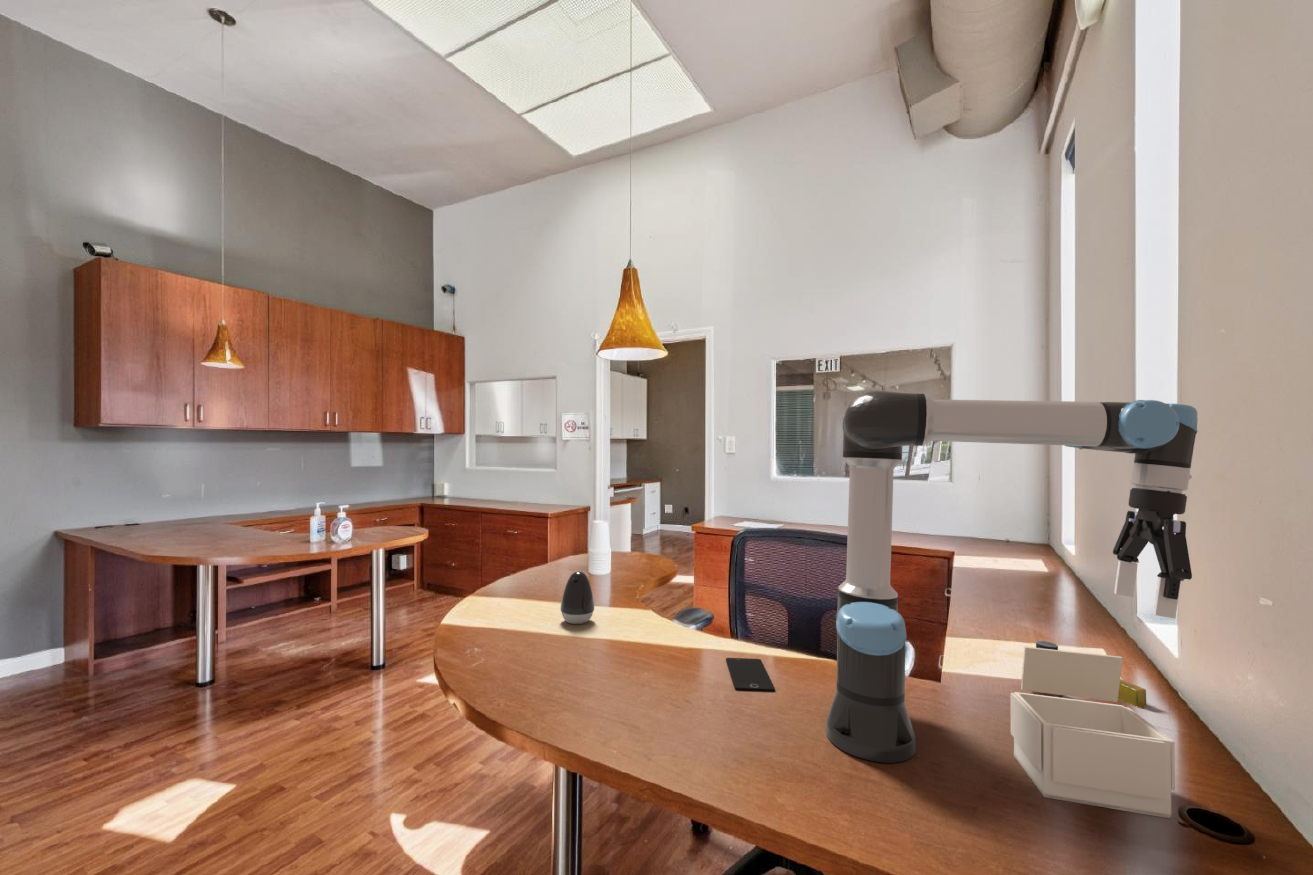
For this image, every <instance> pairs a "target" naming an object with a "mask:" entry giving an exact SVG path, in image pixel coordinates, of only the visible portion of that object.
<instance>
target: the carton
mask: <svg viewBox="0 0 1313 875" xmlns="http://www.w3.org/2000/svg"><path fill="white" fill-rule="evenodd" d="M1010 735H1011V736H1012V737H1013V757H1014V758H1015V759H1016V760H1017V762H1018V764H1020V766H1021V768H1022V769H1023V770H1024V771H1025V773H1026V774H1027V775H1028V777H1029V779H1030V780H1031V779H1032V780H1031V781H1032V783H1034V786H1035V787H1036V786H1037V787H1036V788H1037V789H1038V791H1039V792H1040V794H1041V795H1042V797H1044V798H1047V799H1054V800H1060V801H1065V802H1070V803H1076V804H1083V805H1088V806H1095V807H1101V808H1105V809H1111V810H1112V809H1114V810H1118V811H1124V812H1130V813H1136V814H1143V815H1148V816H1154V817H1159V818H1165V819H1172V791H1176V769H1175V768H1176V766H1175V765H1176V761H1175V759H1176V758H1175V757H1176V754H1175V740H1173V739H1171V738H1170V737H1169V736H1168V735H1166V734H1165V733H1164V732H1162V731H1161V730H1160V729H1158V728H1157V727H1155V726H1154V725H1153V724H1152V723H1150V722H1149V721H1148V720H1146V719H1145V718H1143V717H1142V716H1141V715H1140V714H1138V713H1137V712H1135V711H1134V710H1132V709H1131V708H1130V707H1128V706H1126V707H1125V705H1121V704H1116V703H1115V704H1114V703H1105V702H1098V701H1090V700H1082V699H1075V698H1066V697H1062V698H1059V697H1051V696H1043V695H1036V694H1035V693H1033V694H1032V693H1027V692H1026V693H1025V692H1017V691H1014V692H1010Z"/></svg>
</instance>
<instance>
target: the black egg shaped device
mask: <svg viewBox="0 0 1313 875" xmlns="http://www.w3.org/2000/svg"><path fill="white" fill-rule="evenodd" d="M594 611H595V600H594V594H593V590H592V585H591V582H590V579H589V578H588V576H587V574H586V573H585V572H583V571H579V570H577V571H575V572H573V573H572V574H570V576H569V578H568V580H567V582H566V584H565V587H564V590H563V594H562V597H561V603H560V612H561V616H562V618H563V619H564V621H565V622H567V623H569V624H571V625H582V624H583V625H584V624H585V623H587V622H588V621H590V619H591V618H592V617H593V614H594Z"/></svg>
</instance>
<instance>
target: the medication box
mask: <svg viewBox="0 0 1313 875" xmlns="http://www.w3.org/2000/svg"><path fill="white" fill-rule="evenodd" d="M1118 700H1119V701H1122V702H1124V703H1127V704H1129V705H1131V704H1132V706H1133V705H1134V707H1136V706H1137V707H1136V708H1144V707H1143V706H1147V689H1146V688H1144V687H1141V686H1138V685H1136V684H1133V683H1131V682H1129V681H1127V680H1123V679H1121V678H1120V685H1119V693H1118Z"/></svg>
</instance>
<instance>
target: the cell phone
mask: <svg viewBox="0 0 1313 875" xmlns="http://www.w3.org/2000/svg"><path fill="white" fill-rule="evenodd" d="M725 662H726V666H727V669H728V672H729V676H730V680H731V681H732V685H733V689H734V691H736V692H737V691H738V692H740V691H741V692H742V691H743V692H746V691H747V692H764V693H767V692H771V693H772V692H776V688H775V686H774V684H773V681H772V679H771V678H770V676H769V674H768V671H767V669H766V668H765V665H764V663H763V661H762V659H760V658H746V657H745V658H743V657H741V658H740V657H726V658H725Z"/></svg>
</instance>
